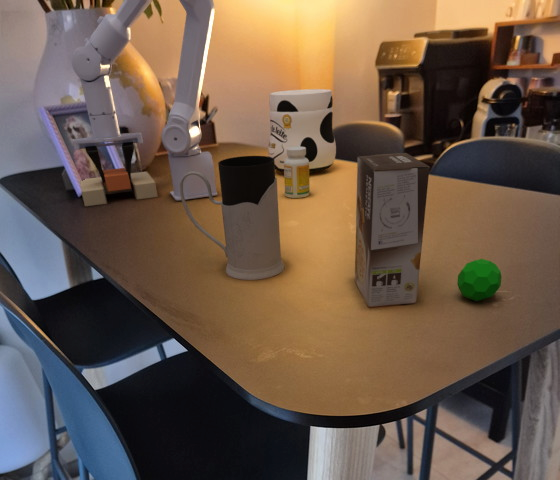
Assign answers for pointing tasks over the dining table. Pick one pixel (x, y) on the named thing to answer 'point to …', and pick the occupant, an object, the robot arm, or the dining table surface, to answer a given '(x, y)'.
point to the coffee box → (389, 227)
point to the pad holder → (97, 190)
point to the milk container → (302, 126)
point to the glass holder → (247, 216)
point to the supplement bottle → (296, 173)
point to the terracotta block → (116, 179)
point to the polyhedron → (479, 280)
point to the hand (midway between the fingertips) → (116, 180)
